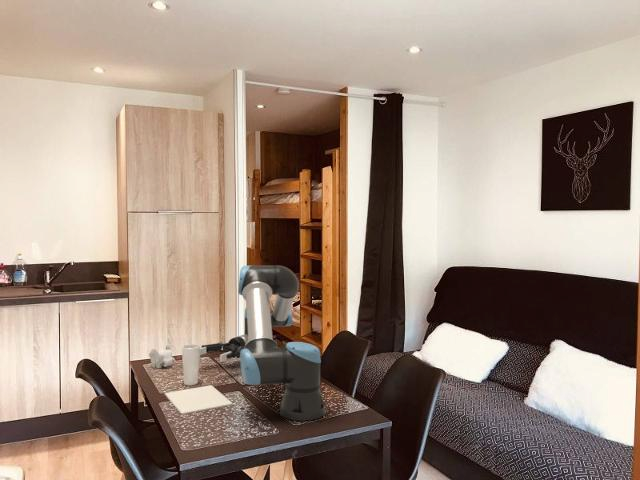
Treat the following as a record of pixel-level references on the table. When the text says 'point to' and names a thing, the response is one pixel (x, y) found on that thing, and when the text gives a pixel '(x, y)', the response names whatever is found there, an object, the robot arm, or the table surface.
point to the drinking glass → (190, 363)
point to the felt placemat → (197, 399)
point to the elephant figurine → (161, 357)
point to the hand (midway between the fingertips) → (207, 355)
